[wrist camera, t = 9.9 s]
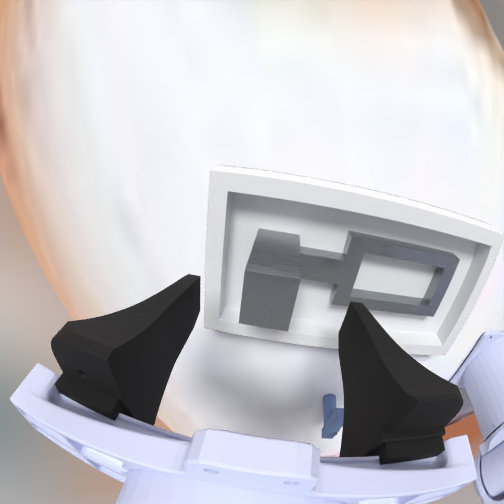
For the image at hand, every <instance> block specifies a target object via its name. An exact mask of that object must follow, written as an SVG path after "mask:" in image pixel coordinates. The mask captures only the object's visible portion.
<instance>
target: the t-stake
mask: <svg viewBox="0 0 504 504" xmlns="http://www.w3.org/2000/svg"><path fill="white" fill-rule="evenodd" d="M323 411H324V427H323V428H322V438H328V439H332V438H333V437H334V436H335V435H337V432H338V431H339V430H340V428H341V427H342V426H343V418H344V408H336V397H335V395H333V394H328V395H325V396H324V397H323Z"/></svg>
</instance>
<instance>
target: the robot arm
mask: <svg viewBox="0 0 504 504" xmlns="http://www.w3.org/2000/svg"><path fill="white" fill-rule="evenodd" d="M199 312H200V276H196V275H190V274H188V275H186V276H184V277H183V278H181V279H180V280H178V281H177V282H175V283H173V284H172V285H170V286H169V287H167V288H165V289H164V290H162V291H161V292H159V293H157V294H155V295H153V296H152V297H150V298H148V299H146V300H144V301H142V302H140V303H138V304H136V305H133V306H131V307H129V308H126V309H123V310H120V311H117V312H114V313H111V314H108V315H104V316H100V317H95V318H91V319H85V320H77V321H68V322H67V323H66V324H65V325H64V327H63V328H62V329H61V330H60V331H59V332H58V333H57V334H56V335H55V336H54V337H53V339H52V341H51V348H52V351H53V354H54V356H55V358H56V360H57V362H58V363H59V366H60V367H61V369H62V371H63V374H62V375H61V376H60V377H59V376H58V375H57V374H55V373H54V372H53V371H51V370H50V369H48V368H46V367H45V366H43V365H41V364H40V363H37V364H36V366H35V367H34V368H33V369H32V371H31V372H30V373H29V374H28V375H27V377H26V378H25V379H24V381H23V382H22V383H21V384H20V386H19V387H18V388H17V390H16V391H15V392H14V394H13V395H12V396H11V398H10V400H11V402H12V403H13V404H14V405H15V407H16V408H17V409H18V410H19V411H20V412H21V414H22V415H23V416H24V417H25V418H26V419H27V420H28V421H29V423H30V424H31V425H32V426H33V427H34V428H35V429H36V430H38V431H39V432H40V433H42V434H43V435H45V436H46V437H47V438H49V439H50V440H52V441H53V442H55V443H56V444H57V445H59V446H60V447H62V448H63V449H65V450H66V451H68V452H69V453H71V454H73V455H74V456H76V457H77V458H79V459H81V460H82V461H84V462H85V463H87V464H89V465H91V466H92V467H94V468H96V469H98V470H99V471H101V472H103V473H105V474H107V475H109V476H110V477H112V478H114V479H116V480H118V481H120V482H122V483H124V485H123V487H122V490H121V492H120V494H119V497H118V499H117V501H116V504H425V503H429V502H433V501H436V500H439V499H442V498H444V497H446V496H448V495H449V494H452V493H453V492H455V491H457V490H459V489H461V488H462V487H464V486H466V485H467V484H469V483H471V482H472V481H473V482H474V486H475V490H476V492H477V494H478V495H479V497H480V498H481V501H482V504H504V332H485V333H484V334H483V335H482V337H481V339H480V340H479V342H478V343H477V345H476V346H475V348H474V349H473V351H472V352H471V354H470V355H469V357H468V358H467V359H466V361H465V362H464V364H463V365H462V366H461V368H460V369H459V370H458V372H457V373H456V374H455V376H454V377H453V378H452V380H451V381H450V382H449V381H447V380H445V379H443V378H441V377H439V376H438V375H436V374H434V373H433V372H431V371H430V370H428V369H427V368H425V367H424V366H422V365H421V364H420V363H419V362H417V361H416V360H415V359H413V358H412V357H411V356H410V355H409V354H408V353H407V352H405V351H404V350H403V349H402V348H401V347H400V346H399V345H398V344H397V343H396V342H395V341H394V340H393V339H392V338H391V337H390V335H389V334H388V333H387V332H386V331H385V330H384V329H383V327H382V326H381V325H380V324H379V323H378V321H377V320H376V319H375V318H374V316H373V315H372V314H371V313H370V311H369V310H368V309H367V308H366V307H365V305H364V304H363V303H359V302H352V301H350V304H349V307H348V309H347V312H346V315H345V317H344V320H343V323H342V325H341V328H340V330H339V333H338V351H339V359H340V366H341V373H342V381H343V389H344V418H343V432H342V442H341V450H340V456H339V457H320V450H319V449H318V448H316V447H315V446H313V445H312V444H310V443H304V442H299V441H292V440H282V439H274V438H266V437H259V436H253V435H247V434H241V433H236V432H231V431H226V430H218V429H204V430H199V431H196V432H195V434H194V435H193V437H188V436H184V435H181V434H178V433H174V432H171V431H167V430H165V429H162V428H158V427H156V426H154V424H155V420H156V416H157V413H158V409H159V406H160V403H161V400H162V397H163V394H164V391H165V388H166V385H167V382H168V380H169V377H170V374H171V372H172V369H173V366H174V364H175V362H176V360H177V358H178V356H179V354H180V352H181V351H182V349H183V347H184V345H185V343H186V341H187V339H188V337H189V336H190V334H191V332H192V330H193V328H194V326H195V323H196V320H197V317H198V315H199ZM461 388H465V389H466V392H467V394H468V397H469V399H470V402H471V405H472V407H473V410H474V413H475V416H476V418H477V421H478V424H479V427H480V430H481V434H482V437H483V440H484V443H483V444H481V445H480V446H479V449H480V453H479V454H478V456H477V458H476V460H475V464H474V460H473V456H472V452H471V448H470V445H469V441H468V437H467V435H463V436H458V437H454V438H450V439H448V440H445V441H444V442H443V438H442V436H443V435H444V434H445V429H444V426H445V425H446V424H447V423H448V422H450V421H451V420H452V419H453V418H454V417H455V416H456V414H457V413H458V412H459V411H460V409H461V407H462V405H463V399H462V396H461V394H460V391H459V389H461Z"/></svg>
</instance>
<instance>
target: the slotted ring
mask: <svg viewBox="0 0 504 504" xmlns="http://www.w3.org/2000/svg"><path fill="white" fill-rule="evenodd" d="M364 253H367V254H373V255H378V256H383V257H389V258H394V259H399V260H405V261H410V262H415V263H420V264H425V265H431V266H436V270H435V272H434V274H433V277H432V279H431V282H430V284H429V286H428V288H427V291H426V293H425V295H424V297H423V298H417V297H410V296H402V295H395V294H388V293H381V292H374V291H368V290H361V289H354V288H353V286H354V284H355V281H356V278H357V275H358V271H359V268H360V265H361V262H362V259H363V256H364ZM459 261H460V259H459V258H458V257H457V256H456V255H455V254H454V253H452V252H447V251H443V250H439V249H435V248H430V247H426V246H421V245H417V244H412V243H408V242H403V241H398V240H394V239H389V238H384V237H379V236H374V235H369V234H364V233H359V232H354V231H348V235H347V238H346V242H345V246H344V250H343V253H338V252H332V251H326V250H320V249H314V248H308V247H303V246H300V235H298V234H292V233H286V232H280V231H274V230H267V229H261V228H259V229H258V232H257V235H256V238H255V241H254V244H253V247H252V250H251V253H250V256H249V259H248V262H247V265H246V268H245V272H244V280H243V289H242V298H241V306H240V315H239V323H240V324H246V325H251V326H257V327H263V328H269V329H275V330H281V331H287V332H288V329H289V325H290V321H291V317H292V313H293V309H294V305H295V301H296V297H297V293H298V289H299V285H300V281H301V279H307V280H313V281H319V282H325V283H332V284H333V288H332V291H331V294H330V298H331V304H332V305H339V306H346V307H349V304H350V301H352V302H359V303H363V304H364V305H365V307H366V308H367V309H369V310H377V311H385V312H393V313H402V314H411V315H420V316H430V317H434V315H435V313H436V311H437V309H438V307H439V305H440V303H441V301H442V299H443V297H444V295H445V293H446V291H447V289H448V287H449V284H450V282H451V280H452V278H453V275H454V273H455V271H456V268H457V266H458V263H459Z"/></svg>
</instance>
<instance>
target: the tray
mask: <svg viewBox="0 0 504 504" xmlns="http://www.w3.org/2000/svg"><path fill="white" fill-rule="evenodd" d="M259 228H261V229H267V230H274V231H280V232H286V233H292V234H298V235H300V246H303V247H308V248H314V249H320V250H326V251H332V252H338V253H343V250H344V246H345V242H346V238H347V235H348V231H354V232H359V233H364V234H369V235H374V236H379V237H384V238H389V239H394V240H398V241H403V242H408V243H412V244H417V245H421V246H426V247H430V248H435V249H439V250H443V251H447V252H452V253H454V254H455V255H456V256H457V257H458V258H459V259H460V261H459V263H458V266H457V268H456V271H455V273H454V275H453V278H452V280H451V282H450V284H449V287H448V289H447V291H446V293H445V295H444V297H443V299H442V301H441V303H440V305H439V307H438V309H437V311H436V313H435V315H434V317H430V316H420V315H411V314H402V313H393V312H385V311H377V310H369V309H368V310H369V311H370V313H371V314H372V315H373V316H374V318H375V319H376V320H377V321H378V323H379V324H380V325H381V326H382V327H383V329H384V330H385V331H386V332H387V333H388V334H389V335H390V337H391V338H392V339H393V340H394V341H395V342H396V343H397V344H398V345H399V346H400V347H401V348H402V349H403V350H404V351H405V352H407V353H408V354H415V355H446V353H447V352H448V350H449V349H450V347H451V346H452V344H453V343H454V341H455V339H456V338H457V336H458V334H459V333H460V331H461V329H462V328H463V326H464V324H465V323H466V321H467V319H468V317H469V315H470V314H471V312H472V310H473V308H474V306H475V304H476V302H477V300H478V298H479V296H480V294H481V292H482V290H483V288H484V286H485V284H486V282H487V279H488V277H489V275H490V273H491V270H492V268H493V265H494V263H495V261H496V258H497V256H498V253H499V250H500V248H501V245H502V242H503V239H504V234H503V233H501V232H500V231H499V230H497V229H496V228H494V227H493V226H492V225H490V224H488V223H485V222H482V221H479V220H476V219H473V218H470V217H467V216H464V215H461V214H458V213H455V212H452V211H449V210H446V209H442V208H439V207H436V206H432V205H429V204H425V203H422V202H418V201H414V200H411V199H407V198H403V197H399V196H395V195H391V194H387V193H383V192H379V191H375V190H370V189H366V188H361V187H357V186H352V185H347V184H343V183H338V182H333V181H327V180H322V179H317V178H311V177H305V176H299V175H293V174H287V173H281V172H274V171H267V170H260V169H252V168H244V167H236V166H227V165H219V166H217V167H215V168H213V169H212V170H210V181H209V197H208V214H207V234H206V260H205V300H204V328H207V329H212V330H217V331H222V332H227V333H232V334H237V335H243V336H248V337H254V338H260V339H266V340H272V341H278V342H285V343H292V344H299V345H306V346H314V347H322V348H331V349H338V333H339V330H340V328H341V325H342V323H343V320H344V317H345V315H346V312H347V309H348V307H346V306H339V305H332V304H331V298H330V294H331V291H332V288H333V284H332V283H325V282H319V281H313V280H307V279H301V281H300V285H299V289H298V293H297V297H296V301H295V305H294V309H293V313H292V317H291V321H290V325H289V329H288V332H287V331H281V330H275V329H269V328H263V327H257V326H251V325H246V324H240V323H239V315H240V306H241V298H242V289H243V280H244V272H245V268H246V265H247V262H248V259H249V256H250V253H251V250H252V247H253V244H254V241H255V238H256V235H257V232H258V229H259ZM435 270H436V266H431V265H425V264H420V263H415V262H410V261H405V260H399V259H394V258H389V257H383V256H378V255H373V254H367V253H364V256H363V259H362V262H361V265H360V268H359V271H358V275H357V278H356V281H355V284H354V286H353V288H354V289H361V290H368V291H374V292H381V293H388V294H395V295H402V296H410V297H417V298H423V297H424V295H425V293H426V291H427V288H428V286H429V284H430V282H431V279H432V277H433V274H434V272H435Z"/></svg>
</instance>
